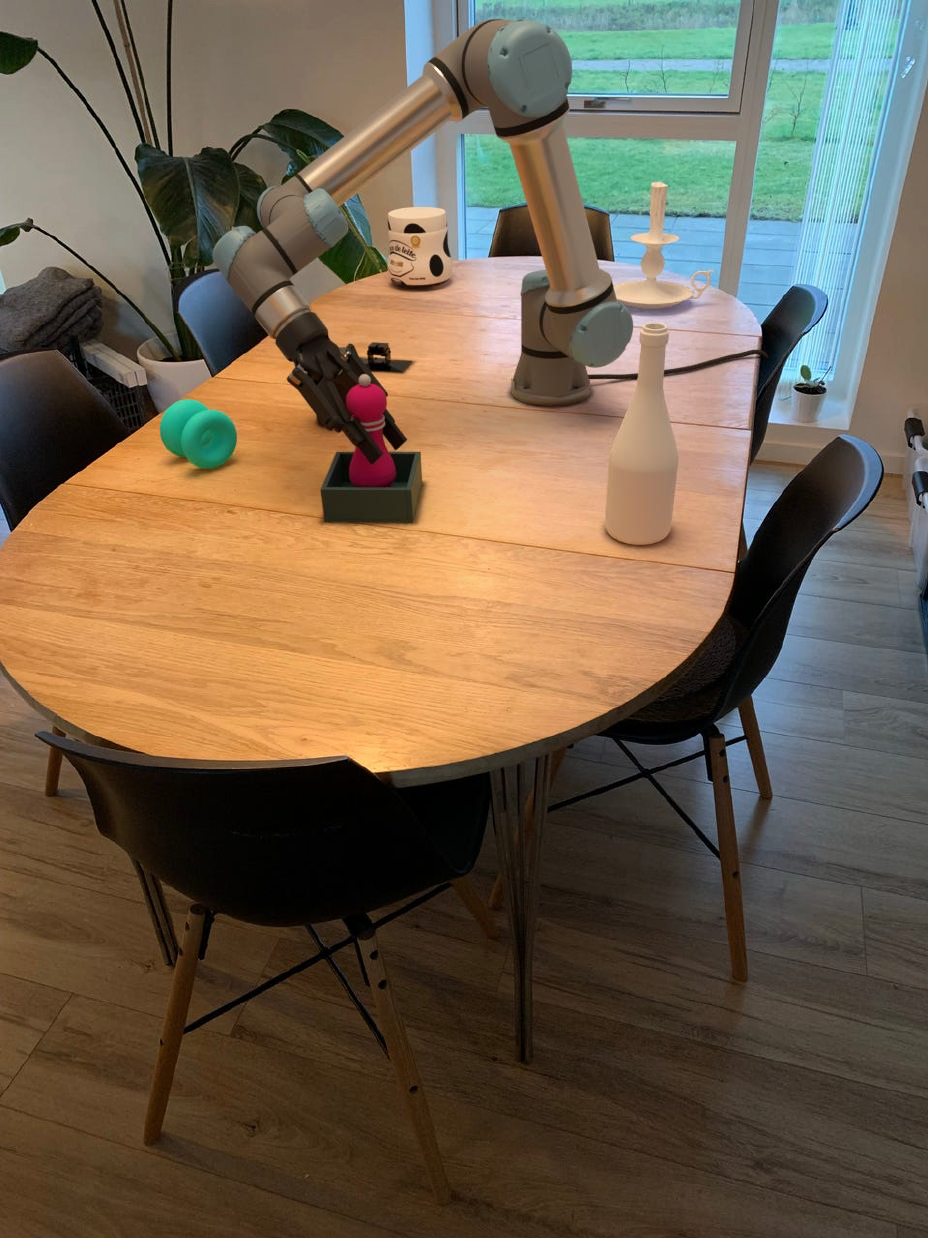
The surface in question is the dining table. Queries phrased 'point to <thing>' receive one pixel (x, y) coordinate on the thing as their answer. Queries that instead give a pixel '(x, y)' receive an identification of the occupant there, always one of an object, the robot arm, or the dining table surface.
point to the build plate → (383, 359)
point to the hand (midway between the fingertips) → (389, 451)
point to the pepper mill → (368, 410)
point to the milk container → (418, 247)
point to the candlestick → (656, 264)
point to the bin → (372, 492)
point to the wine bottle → (644, 453)
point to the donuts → (198, 433)
